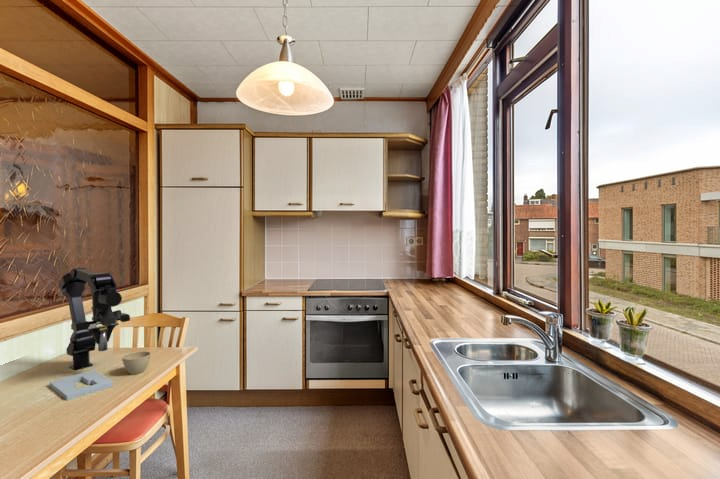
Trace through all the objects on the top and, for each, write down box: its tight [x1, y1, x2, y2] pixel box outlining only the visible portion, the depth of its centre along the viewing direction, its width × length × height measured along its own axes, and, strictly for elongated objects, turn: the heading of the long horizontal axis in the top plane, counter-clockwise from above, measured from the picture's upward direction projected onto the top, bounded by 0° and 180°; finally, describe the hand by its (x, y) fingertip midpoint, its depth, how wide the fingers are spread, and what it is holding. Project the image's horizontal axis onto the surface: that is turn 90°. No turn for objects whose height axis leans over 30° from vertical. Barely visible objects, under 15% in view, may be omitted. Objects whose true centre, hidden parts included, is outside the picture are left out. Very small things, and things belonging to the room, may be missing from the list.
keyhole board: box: [49, 369, 114, 401], centre depth 135 cm, size 20×14×2 cm
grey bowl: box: [121, 350, 151, 375], centre depth 148 cm, size 10×10×7 cm
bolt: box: [97, 325, 108, 352], centre depth 145 cm, size 4×4×10 cm
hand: (102, 342), depth 145 cm, fingers closed on bolt, 3 cm apart
